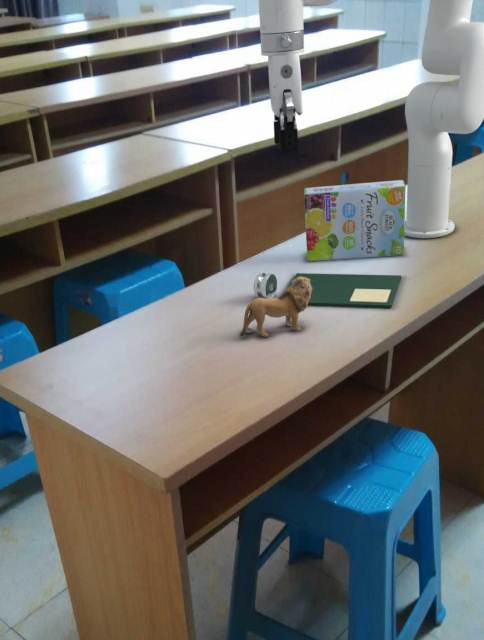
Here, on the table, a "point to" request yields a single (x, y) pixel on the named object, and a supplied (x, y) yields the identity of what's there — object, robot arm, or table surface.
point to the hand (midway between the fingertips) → (285, 147)
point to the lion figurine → (279, 306)
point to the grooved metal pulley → (265, 285)
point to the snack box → (355, 220)
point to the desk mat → (352, 289)
